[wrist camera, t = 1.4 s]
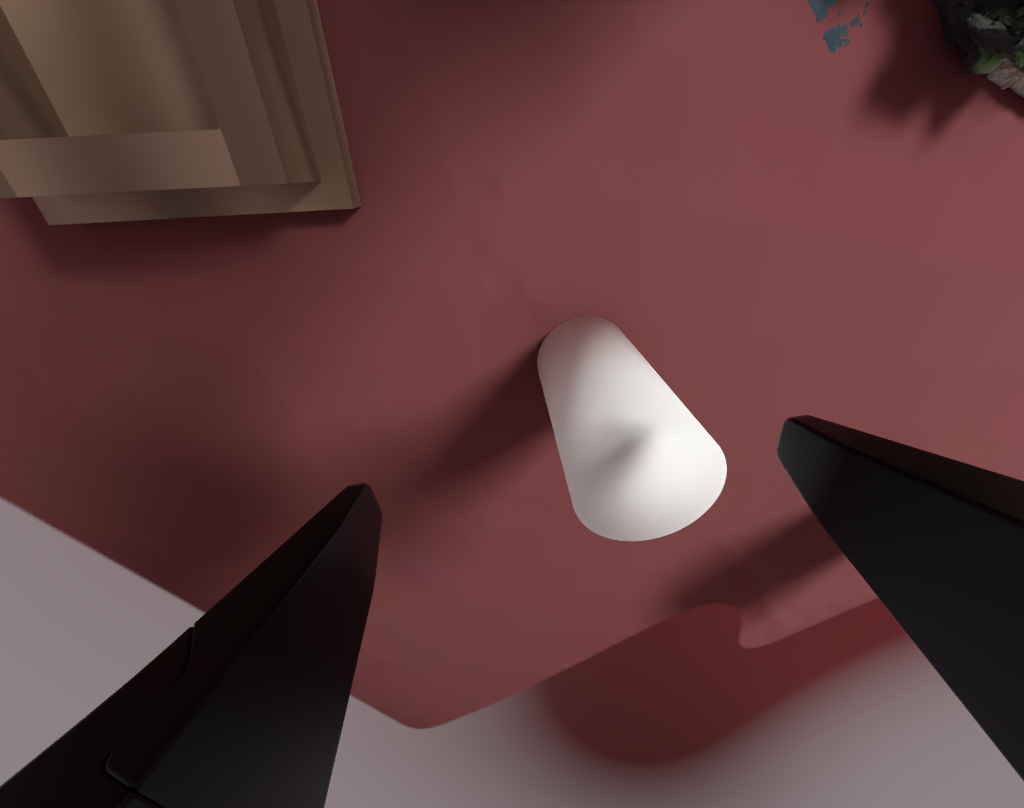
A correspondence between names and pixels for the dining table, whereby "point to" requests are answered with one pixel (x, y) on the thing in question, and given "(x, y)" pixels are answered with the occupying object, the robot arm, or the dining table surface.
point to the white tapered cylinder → (624, 435)
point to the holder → (169, 109)
